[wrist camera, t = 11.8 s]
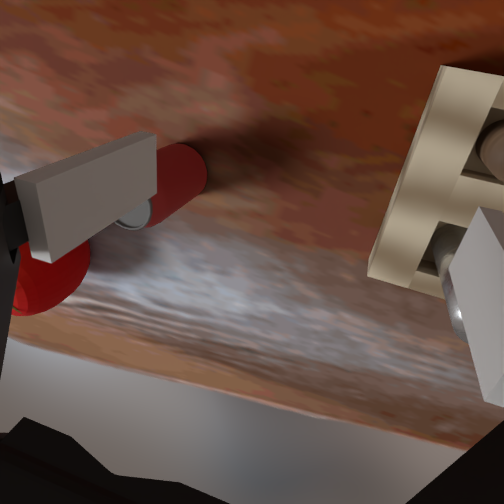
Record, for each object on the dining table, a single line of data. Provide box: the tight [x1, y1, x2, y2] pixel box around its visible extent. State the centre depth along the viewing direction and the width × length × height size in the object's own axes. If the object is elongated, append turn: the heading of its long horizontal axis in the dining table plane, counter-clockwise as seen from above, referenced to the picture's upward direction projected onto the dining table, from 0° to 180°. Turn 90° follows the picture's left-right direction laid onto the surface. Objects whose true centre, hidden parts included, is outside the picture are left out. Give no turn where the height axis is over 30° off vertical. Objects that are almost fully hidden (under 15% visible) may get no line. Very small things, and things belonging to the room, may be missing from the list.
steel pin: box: [431, 224, 469, 344], centre depth 31 cm, size 4×4×14 cm
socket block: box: [367, 65, 504, 299], centre depth 33 cm, size 20×14×6 cm
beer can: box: [114, 143, 207, 231], centre depth 40 cm, size 7×7×12 cm
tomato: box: [12, 240, 90, 316], centre depth 50 cm, size 13×11×14 cm
